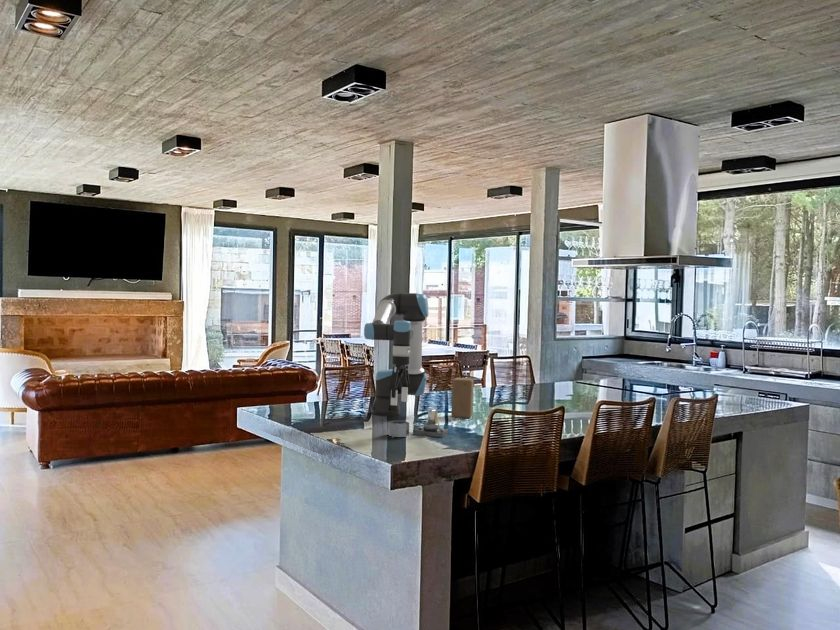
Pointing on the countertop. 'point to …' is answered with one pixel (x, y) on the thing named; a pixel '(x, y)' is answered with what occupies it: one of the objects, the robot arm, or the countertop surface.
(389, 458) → the countertop surface
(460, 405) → the wooden block
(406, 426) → the hub
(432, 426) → the shaft stand
